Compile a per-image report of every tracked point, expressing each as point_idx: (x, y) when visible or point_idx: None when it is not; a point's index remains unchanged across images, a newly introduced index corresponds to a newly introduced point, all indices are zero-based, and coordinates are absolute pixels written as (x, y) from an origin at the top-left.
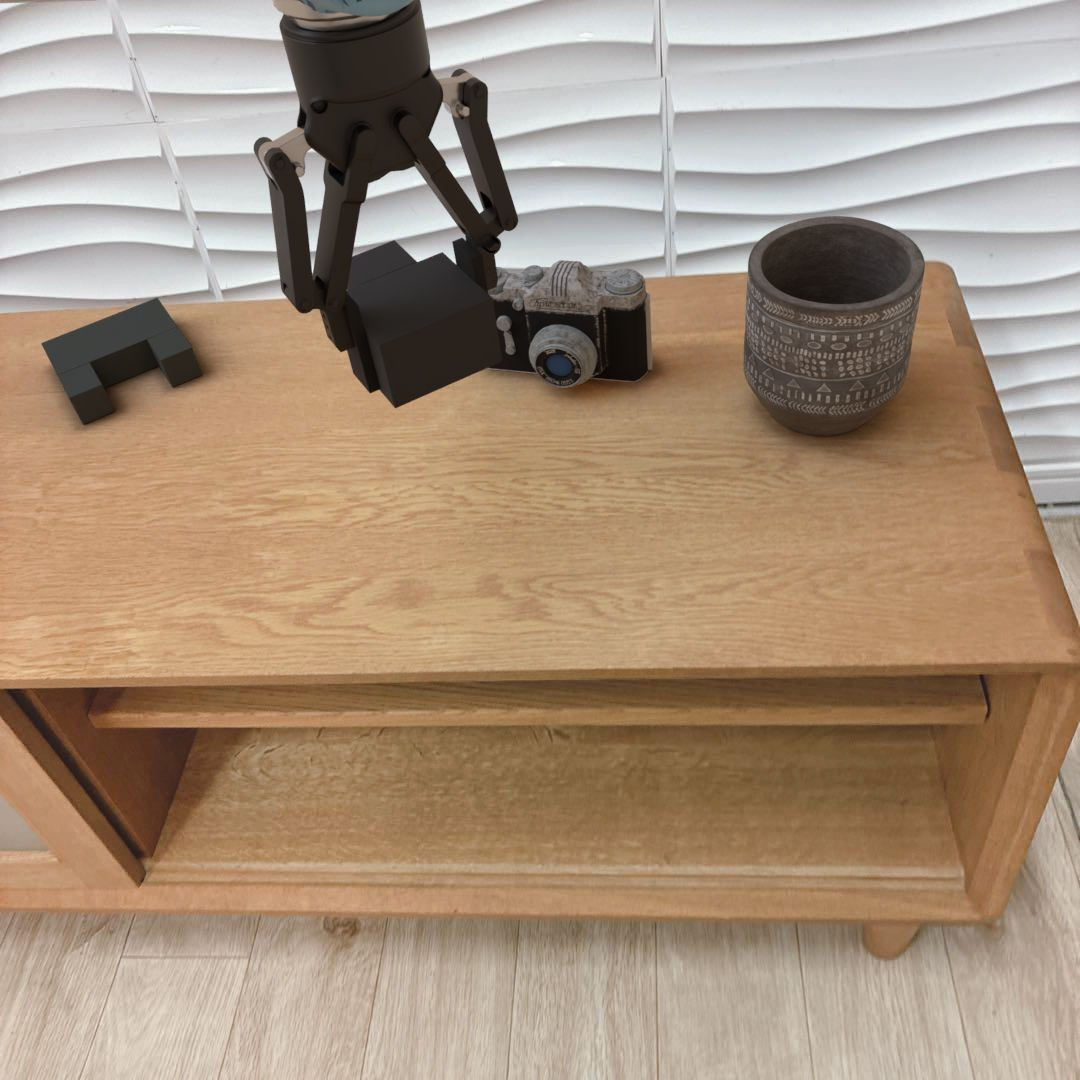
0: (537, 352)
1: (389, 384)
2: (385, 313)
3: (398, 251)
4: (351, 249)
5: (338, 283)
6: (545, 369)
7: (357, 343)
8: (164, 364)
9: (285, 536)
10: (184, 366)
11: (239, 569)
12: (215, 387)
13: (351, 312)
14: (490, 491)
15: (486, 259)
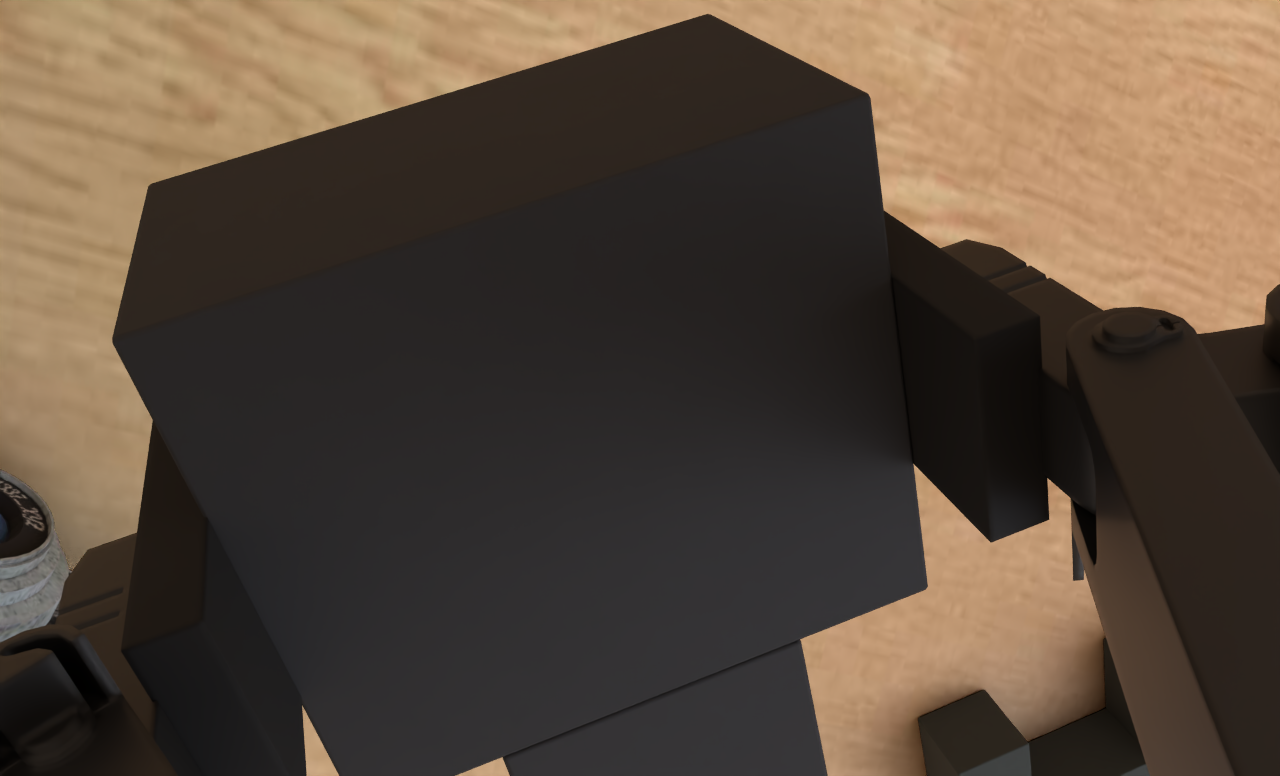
0: (27, 566)
1: (759, 41)
2: (761, 377)
3: None
4: (1169, 574)
5: (1160, 408)
6: (16, 518)
7: (914, 233)
8: (1017, 734)
9: (882, 114)
10: (966, 733)
11: (1009, 33)
12: (903, 674)
13: (1003, 313)
14: (294, 93)
15: (103, 663)
